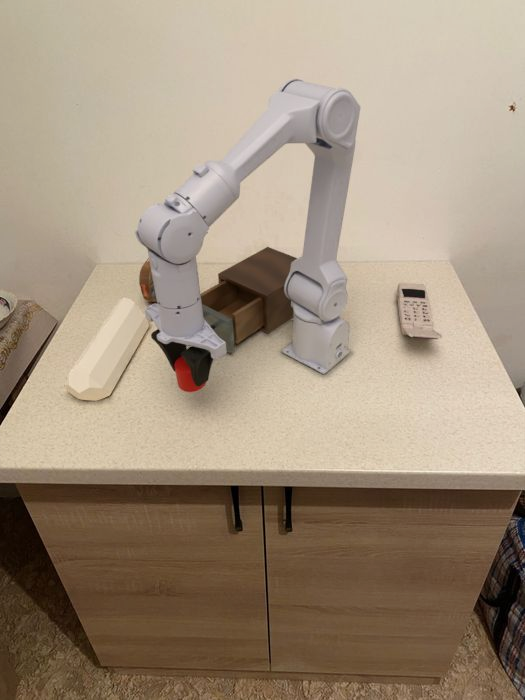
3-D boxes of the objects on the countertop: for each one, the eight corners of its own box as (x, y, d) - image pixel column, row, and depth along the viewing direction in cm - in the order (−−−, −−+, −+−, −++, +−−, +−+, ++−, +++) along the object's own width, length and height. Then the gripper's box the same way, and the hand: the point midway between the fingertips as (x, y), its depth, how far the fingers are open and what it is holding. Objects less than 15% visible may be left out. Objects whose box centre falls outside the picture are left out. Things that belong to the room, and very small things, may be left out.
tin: (155, 310, 103) (149, 274, 98) (141, 308, 104) (134, 272, 99) (179, 273, 115) (175, 239, 110) (166, 272, 115) (161, 238, 110)
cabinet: (267, 334, 96) (266, 296, 90) (221, 310, 102) (217, 273, 97) (314, 302, 104) (315, 265, 99) (268, 282, 111) (267, 246, 106)
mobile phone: (407, 335, 85) (398, 262, 104) (401, 362, 89) (394, 287, 108) (444, 338, 84) (428, 264, 103) (436, 365, 88) (423, 289, 107)
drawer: (211, 366, 87) (207, 335, 83) (168, 340, 93) (163, 310, 89) (278, 320, 98) (278, 290, 94) (236, 299, 104) (234, 270, 100)
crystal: (104, 302, 98) (44, 385, 80) (131, 289, 95) (75, 371, 77) (128, 330, 102) (76, 415, 84) (155, 318, 99) (107, 403, 80)
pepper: (211, 381, 75) (208, 355, 72) (191, 396, 73) (186, 370, 70) (192, 369, 77) (189, 343, 74) (172, 383, 75) (167, 357, 72)
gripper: (120, 291, 67) (138, 368, 76) (193, 332, 60) (204, 412, 68) (161, 270, 71) (174, 345, 80) (234, 306, 64) (240, 385, 72)
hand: (190, 375), depth 74 cm, fingers closed on pepper, 4 cm apart
